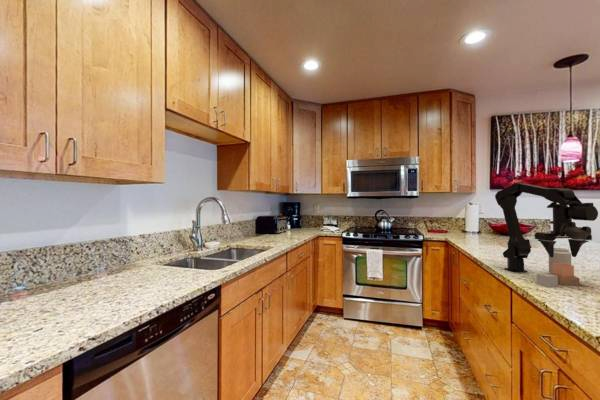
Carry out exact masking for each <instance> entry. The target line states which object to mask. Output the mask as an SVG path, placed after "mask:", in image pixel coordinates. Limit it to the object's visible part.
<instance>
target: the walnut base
mask: <svg viewBox="0 0 600 400" xmlns="http://www.w3.org/2000/svg"><path fill="white" fill-rule="evenodd" d="M547 273H548V274H552V275H554V274H553V273H550V272H547ZM556 276H558V275H556ZM558 286H562V287H564V286H566V287H567V286H568V287H570V286H571V287H580V278H579V277H577V276H575V275H574V277H561V276H558Z"/></svg>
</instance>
